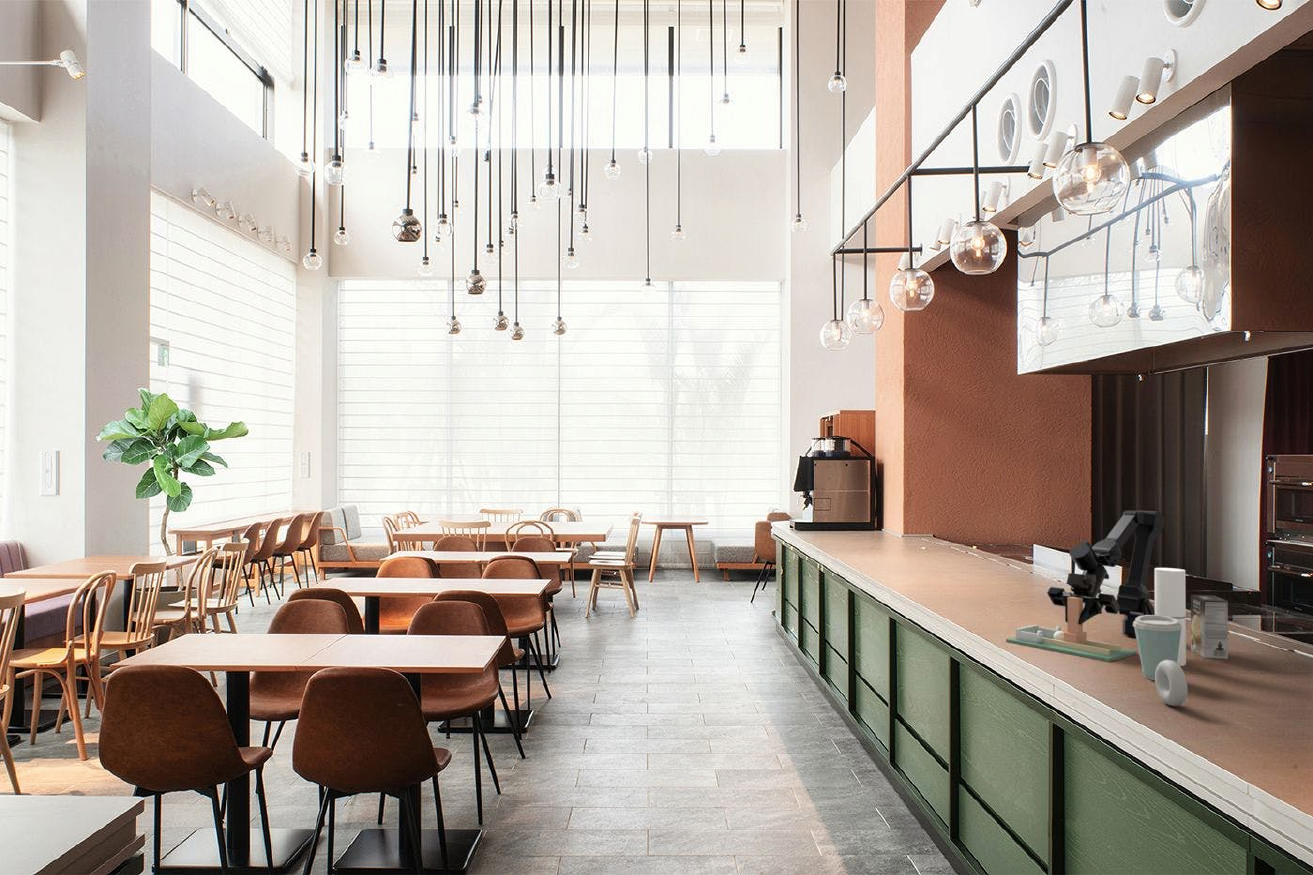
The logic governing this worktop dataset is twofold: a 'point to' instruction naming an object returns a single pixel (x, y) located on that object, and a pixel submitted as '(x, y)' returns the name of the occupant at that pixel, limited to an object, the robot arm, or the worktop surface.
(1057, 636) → the ball
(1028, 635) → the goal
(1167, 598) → the cylindrical container
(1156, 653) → the disposable coffee cup
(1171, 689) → the donut
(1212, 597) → the coffee box
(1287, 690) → the worktop surface
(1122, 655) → the board
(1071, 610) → the player
